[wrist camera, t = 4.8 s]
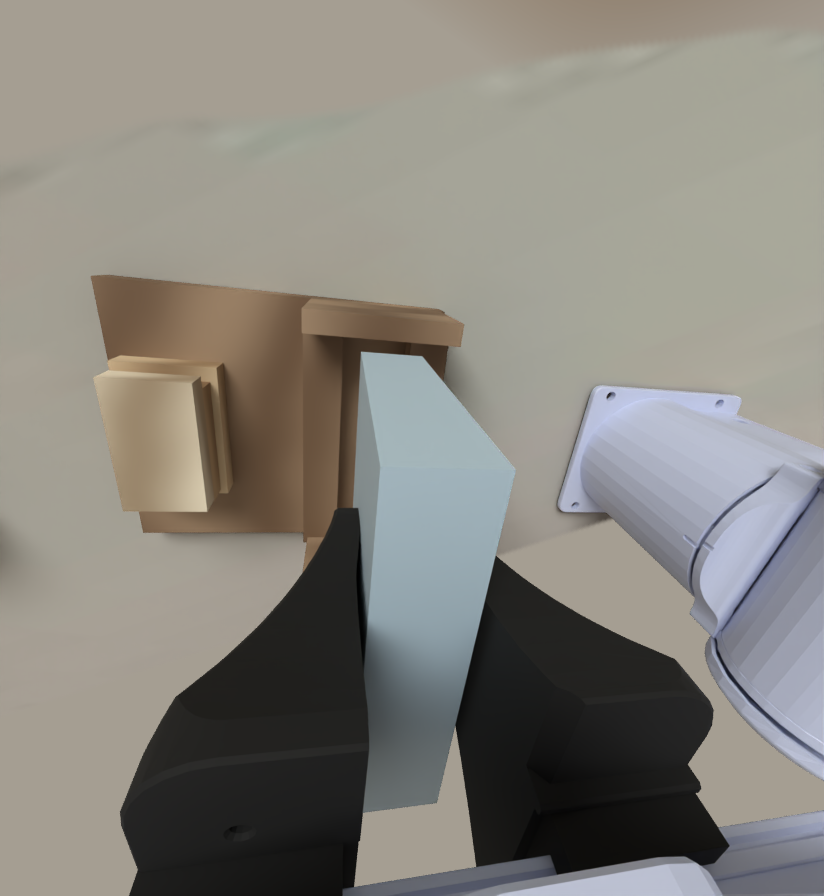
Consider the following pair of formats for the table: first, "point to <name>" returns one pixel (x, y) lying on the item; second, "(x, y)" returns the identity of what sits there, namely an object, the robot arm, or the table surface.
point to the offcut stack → (166, 432)
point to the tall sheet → (419, 567)
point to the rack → (272, 388)
